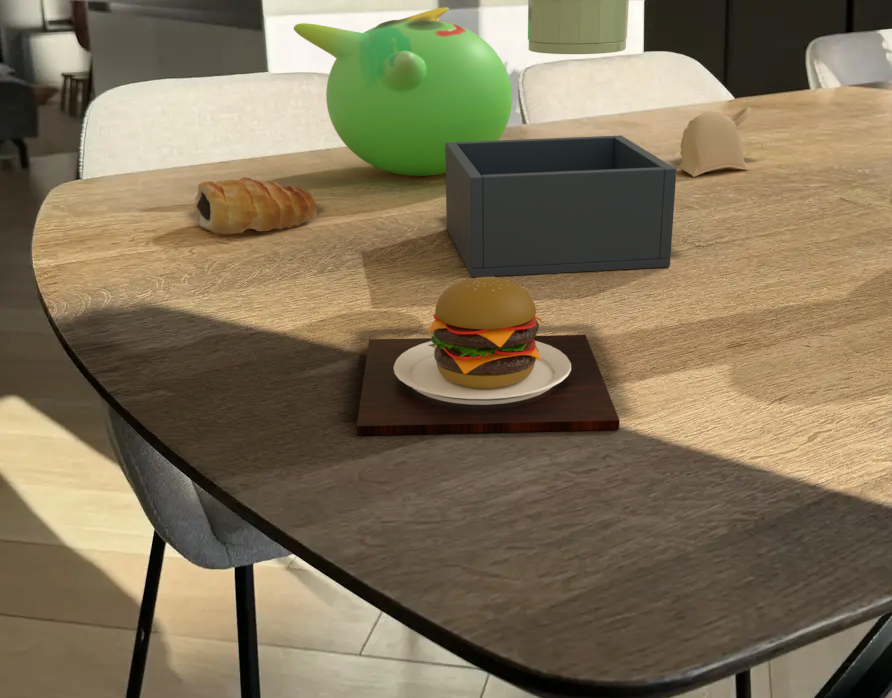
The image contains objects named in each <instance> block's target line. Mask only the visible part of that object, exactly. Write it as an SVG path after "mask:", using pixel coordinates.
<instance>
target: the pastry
mask: <svg viewBox="0 0 892 698" xmlns="http://www.w3.org/2000/svg"><path fill="white" fill-rule="evenodd" d="M194 201H195V202H194V214H195V216H196V218H197V220H198V225H199V227H201V228H202V229H203V230H207V231H208V230H209V231H210V232H212V233H214V234H216V235H217V234H218V235H220V234H222V235H226V236H231V235H234V234H243V233H244V231H246V230H249V229H252V230H255V231H256V232H268V231H269V232H270V231H271V230H273V229H278V230H280V231H282V229H284V228H287V229H290V228H292V227H299V226H300V225H301V224H304V223H306V222H307V221H308V220H311V219H312V220H313V219H315V217H316V215H317V214H318V210H317V203H316V201H315V199H314V198H313V196H312V195H311V193H310V192H308V191H306V190H305V189H303V188H301V187H299V186H296V185H287V186H281V185H280V184H279V183H277V182H276V181H270V180H260V179H257V180H255V179H253V178H250V177H246V176H245V177H244V176H243V177H241V178H239V179H225V180H219V181H216V182H214V181H213V180H212V181H211V180H210V181H209V180H207V181H203V182H201V183H199V184H198V187H197V195H196V196H195V200H194Z"/></svg>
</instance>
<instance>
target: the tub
mask: <svg viewBox="0 0 892 698" xmlns="http://www.w3.org/2000/svg"><path fill="white" fill-rule="evenodd" d="M629 2H630V1H629V0H528V1H527V14H528V15H527V40H528V51H529V52H533V53H538V54H539V53H540V54H551V55H597V54H599V55H600V54H610V53H611V54H612V53H618V52H622V51H625V50H626V49H627V39H628V25H629V24H628V22H629V4H630V3H629Z"/></svg>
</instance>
